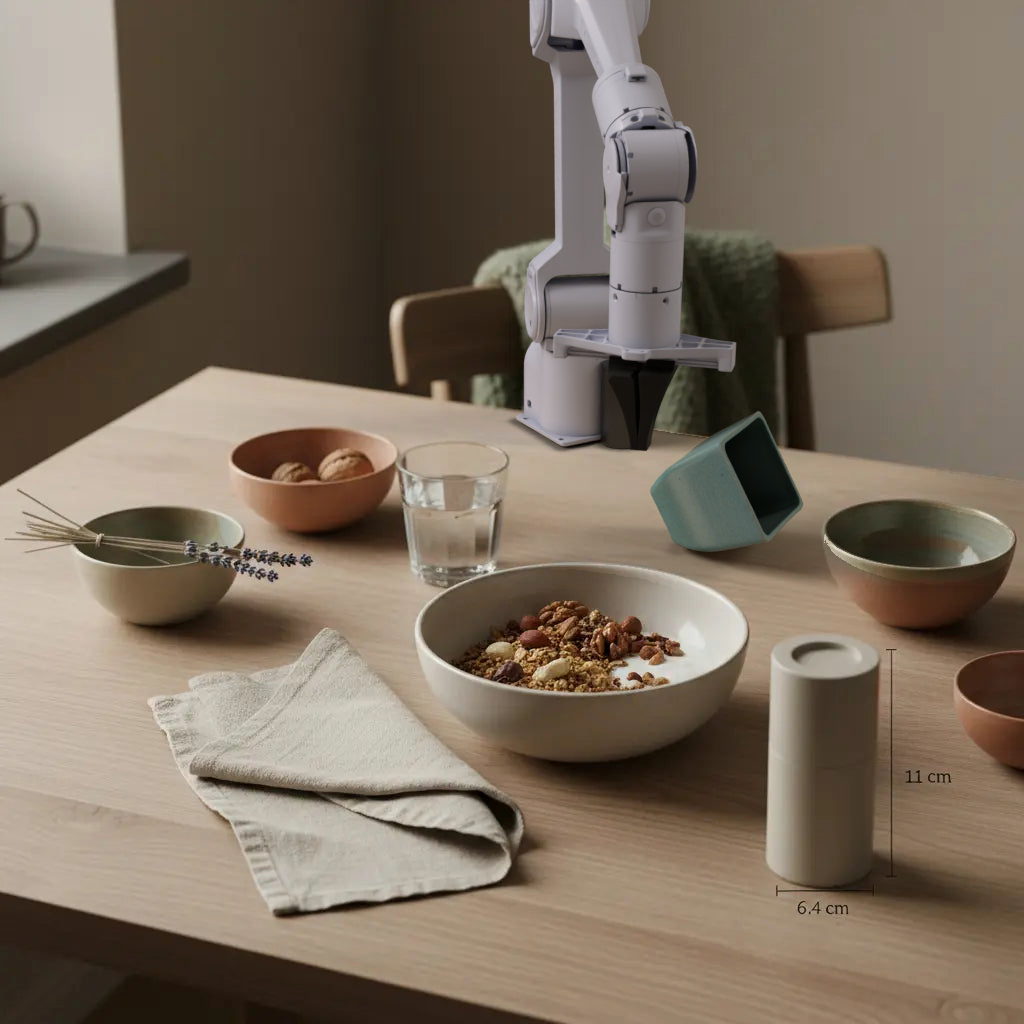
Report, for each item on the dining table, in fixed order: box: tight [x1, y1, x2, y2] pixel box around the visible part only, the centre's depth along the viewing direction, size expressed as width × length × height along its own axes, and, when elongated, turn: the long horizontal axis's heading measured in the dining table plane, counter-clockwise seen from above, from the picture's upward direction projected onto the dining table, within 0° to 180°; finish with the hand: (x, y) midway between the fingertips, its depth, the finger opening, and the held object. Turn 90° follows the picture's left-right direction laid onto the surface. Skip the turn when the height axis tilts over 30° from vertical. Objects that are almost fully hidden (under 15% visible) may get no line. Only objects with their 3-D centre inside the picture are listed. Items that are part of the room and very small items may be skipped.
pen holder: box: [599, 360, 630, 450], centre depth 146 cm, size 4×4×8 cm
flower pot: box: [649, 410, 804, 553], centre depth 122 cm, size 9×9×9 cm
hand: (640, 446), depth 124 cm, fingers closed
